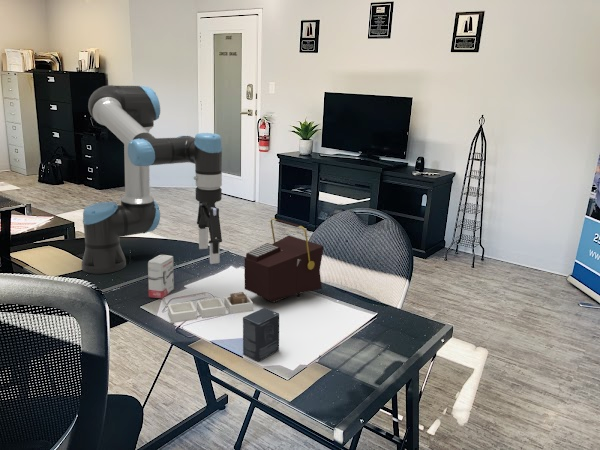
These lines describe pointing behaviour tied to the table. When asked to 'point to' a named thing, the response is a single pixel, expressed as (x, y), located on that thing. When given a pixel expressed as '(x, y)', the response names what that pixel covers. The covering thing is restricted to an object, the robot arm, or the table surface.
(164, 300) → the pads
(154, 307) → the table surface
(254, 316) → the box
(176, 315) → the bins
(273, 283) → the brown boxy machine
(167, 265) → the ink box
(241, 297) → the letter cube
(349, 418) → the table surface
